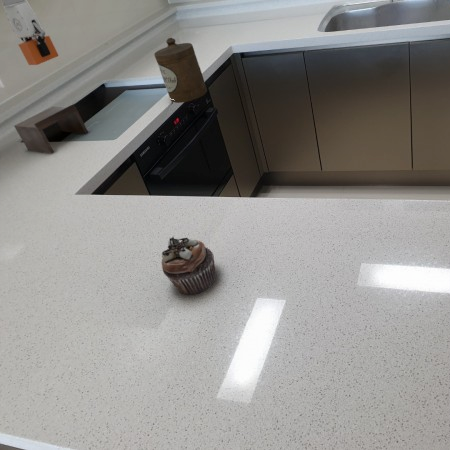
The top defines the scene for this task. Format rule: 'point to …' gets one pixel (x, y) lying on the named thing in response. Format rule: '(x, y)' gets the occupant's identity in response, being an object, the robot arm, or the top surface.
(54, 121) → the shelf
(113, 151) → the top surface
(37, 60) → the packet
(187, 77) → the wooden container
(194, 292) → the cupcake
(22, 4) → the robot arm
